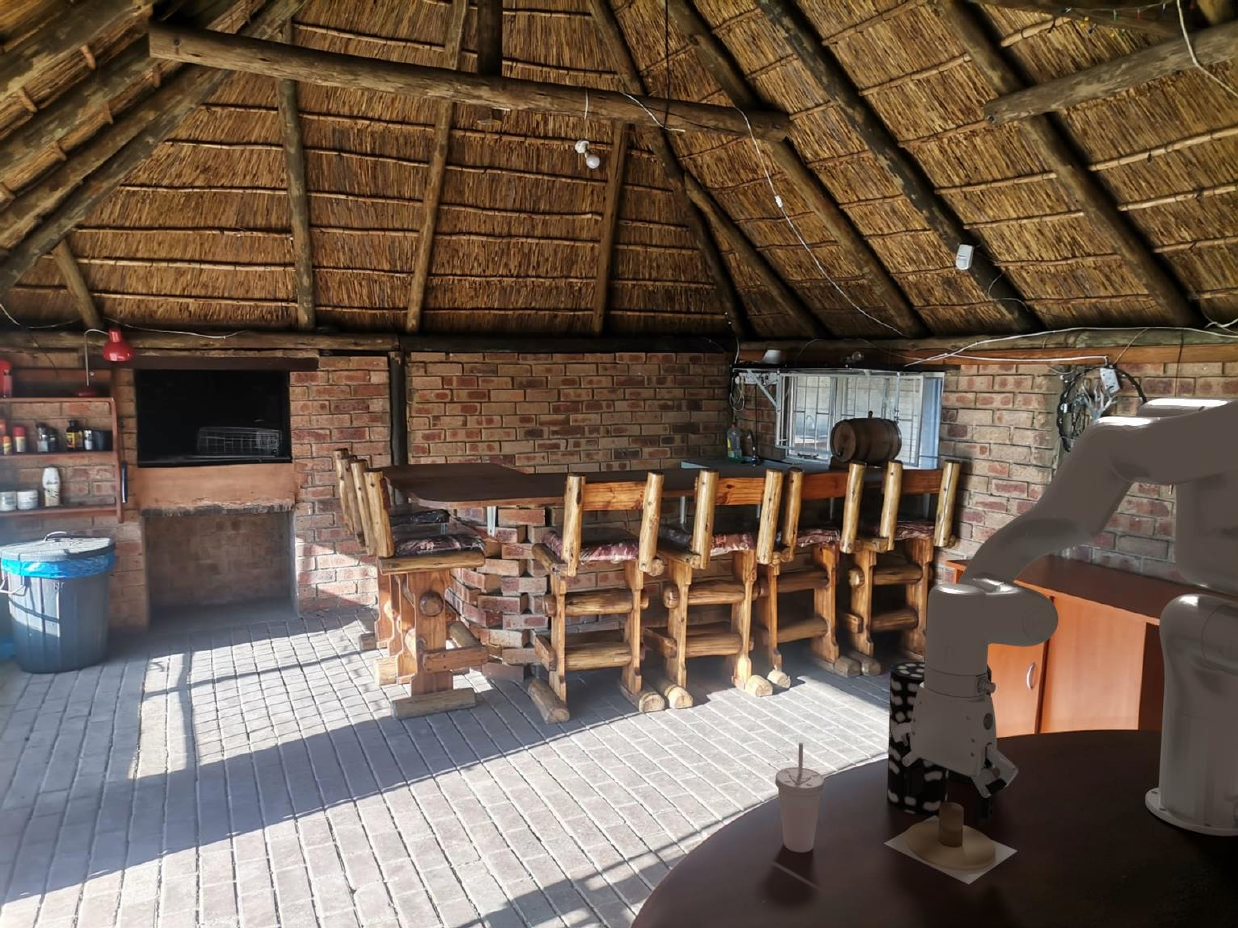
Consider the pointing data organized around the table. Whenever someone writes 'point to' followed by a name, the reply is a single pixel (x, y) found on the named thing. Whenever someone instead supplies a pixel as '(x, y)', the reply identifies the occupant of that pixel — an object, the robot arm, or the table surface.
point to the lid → (950, 841)
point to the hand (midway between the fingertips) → (947, 807)
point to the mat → (961, 875)
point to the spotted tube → (901, 709)
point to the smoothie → (799, 804)
